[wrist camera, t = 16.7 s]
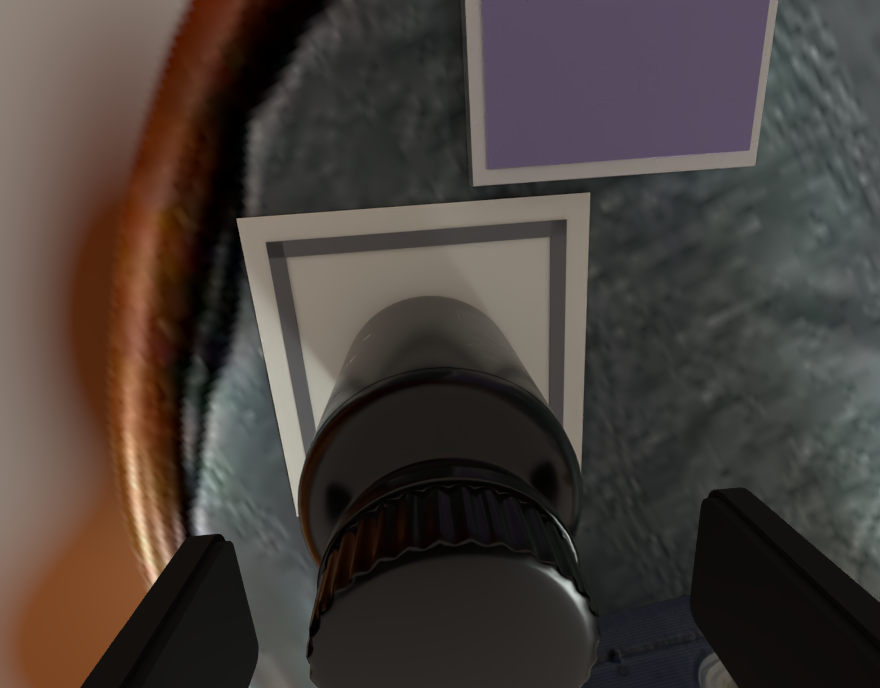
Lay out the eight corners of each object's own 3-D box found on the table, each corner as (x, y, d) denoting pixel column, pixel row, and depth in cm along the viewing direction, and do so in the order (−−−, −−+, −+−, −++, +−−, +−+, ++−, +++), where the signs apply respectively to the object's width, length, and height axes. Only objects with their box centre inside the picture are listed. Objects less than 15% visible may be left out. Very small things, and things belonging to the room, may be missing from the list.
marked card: (579, 486, 21) (581, 490, 21) (298, 513, 20) (296, 518, 20) (588, 192, 17) (591, 192, 17) (238, 218, 16) (235, 218, 16)
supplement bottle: (321, 319, 17) (153, 543, 6) (490, 271, 17) (644, 411, 6) (375, 465, 20) (325, 833, 8) (526, 424, 19) (689, 742, 8)
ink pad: (731, 168, 17) (761, 165, 15) (468, 187, 16) (474, 185, 15) (775, -180, 14) (816, -223, 12) (452, -166, 13) (457, -210, 12)
